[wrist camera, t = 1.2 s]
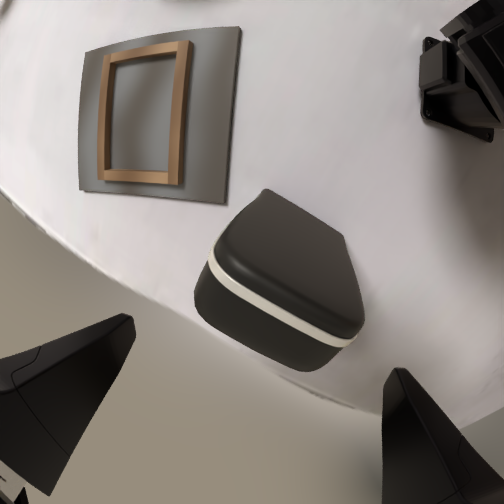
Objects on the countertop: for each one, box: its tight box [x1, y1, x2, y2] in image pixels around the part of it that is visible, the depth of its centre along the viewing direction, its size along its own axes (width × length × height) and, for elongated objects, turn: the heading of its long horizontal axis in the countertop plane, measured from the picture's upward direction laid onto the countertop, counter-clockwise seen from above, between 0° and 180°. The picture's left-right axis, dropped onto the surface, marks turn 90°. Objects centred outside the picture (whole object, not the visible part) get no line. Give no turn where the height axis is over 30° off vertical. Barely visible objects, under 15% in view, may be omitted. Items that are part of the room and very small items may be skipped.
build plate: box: [78, 26, 241, 204], centre depth 18 cm, size 14×13×1 cm
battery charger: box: [194, 189, 365, 372], centre depth 15 cm, size 7×4×11 cm, turn 61°
